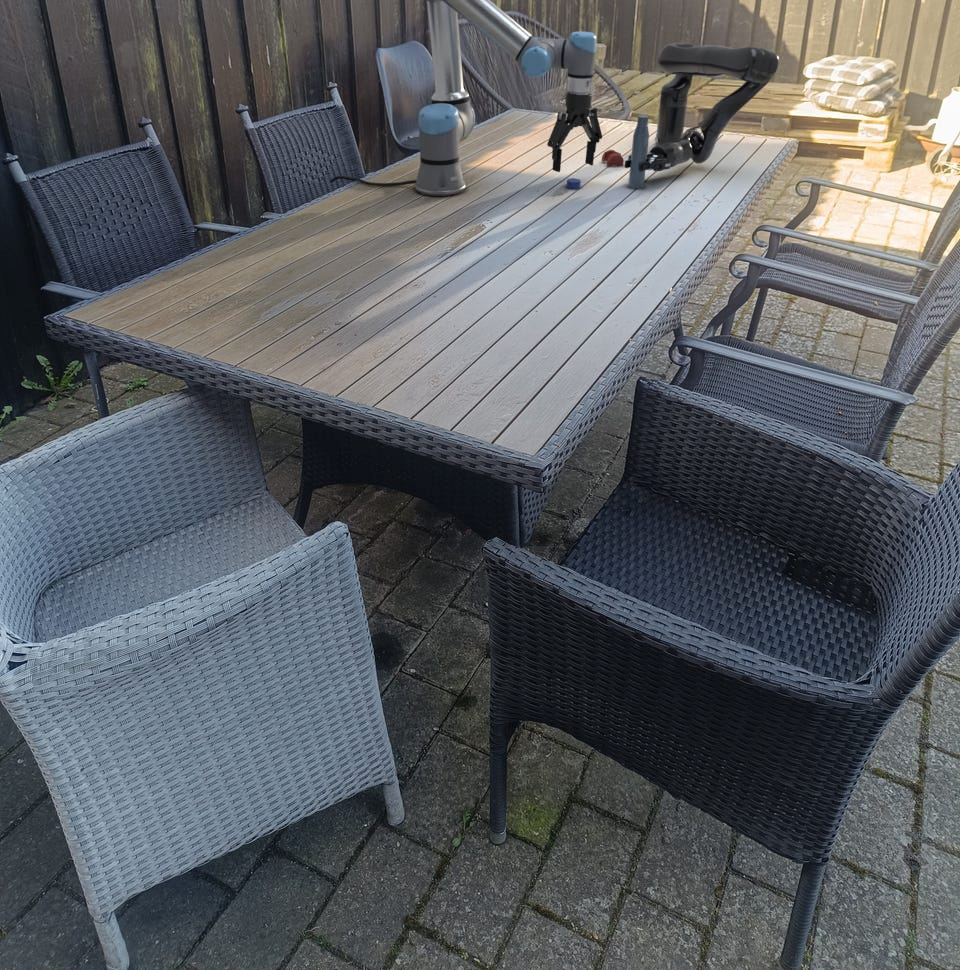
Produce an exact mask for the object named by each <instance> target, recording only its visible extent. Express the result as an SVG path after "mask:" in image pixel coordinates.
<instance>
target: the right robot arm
mask: <svg viewBox="0 0 960 970" xmlns="http://www.w3.org/2000/svg"><path fill="white" fill-rule="evenodd" d="M779 60H780V59H779V56H778V54H777V53H776V52H775V51H773V50H771V49H766V48H762V47H759V46H751V45H750V46H741V47H735V48H733V47H728V46H725V45H719V44H718V45H717V44H706V45H697V46H695V45H694V44H693V43H691V42H674V43H668V44H666V45H665V46H663V48H662V49H661V50H660V53H659V54H658V66H659V68H660V69H661V71H662V72H663V73H664V74H666V75H674V77H673V78H672V79H671V80H670V81H669V82H667V83H664V84H663V85H662V86H661V91H660V98H659V99H660V100H659V108H658V115H657V126H656V135H655V137H654V141H655V142H654V146H653V147H652V148H651V149H650V150H649V152H647V160H646V162H645V163H641V164H639V171H640V172H642V171H645V172H646V171H653V172H662V171H665V170H670V169H672V168H674V167H676V166H678V165H682V164H684V163H687V162H688V161H690V160H691V161H692V162H693V163H695V164H698V165H699V164H703V163H705V162H706V161H708V159H709V158H710V157H711V156H712V154H713V152H714V149H715V147H716V144H717V141H718V139H719V137H720V135H721V134H722V132H723V131H724V130H725V129H726V127H727V126H728V125H729V123H730V122H731V121H732V119H734V118H735V116H736V115H737V114H738V113H739V112H740V111H741V109H743V107H744V106H746V105H747V104H748V103H749V102H750V101H751V100H752V99H754V97H755V96H756V95H757V94H758V93H760V92H761V90H763V89H764V88H765V87H766V86H767V85H768V84H769V83H770V81H771V80H772V79H773V78H774V76H775V75H776V73H777V71H778V68H779V65H780V64H779V63H780V61H779ZM694 76H697V77H701V78H707V79H721V78H723V77H725V76H729V77H733V78H736V79H739V80H741V81H744V83H743V84H742V85H740V86H739V87H738V88H736V89H735V90H734V91H732V92H730V93H729V94H728V95H726V96H725V97H723V98H721V99H720V100H719V101H717V102H716V103H715V104H713V107H711V108H710V110H709V111H708V113H707V114H706V115H705V117H704V118H703V120H702V121H700V122H699V124H698V125H696V126H693V127H690V128H688V129H686V130H685V122H686V114H687V107H688V99H689V92H690V89H691V87H692V83H693V78H694ZM699 128H700V131H701V132H700V131H698V130H697V129H699ZM684 130H685V131H684ZM627 158H628V159H626V160H624V169H630V163H631V154H629V155H628V157H627Z"/></svg>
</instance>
